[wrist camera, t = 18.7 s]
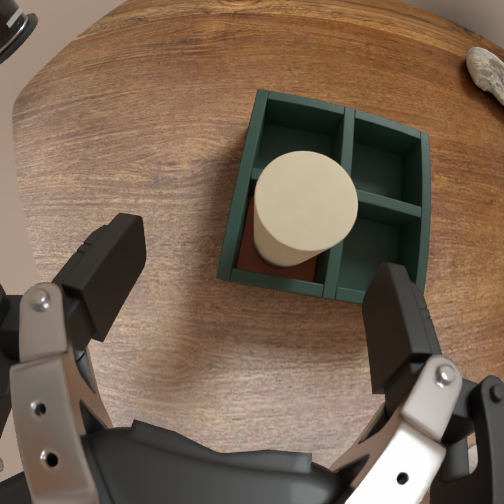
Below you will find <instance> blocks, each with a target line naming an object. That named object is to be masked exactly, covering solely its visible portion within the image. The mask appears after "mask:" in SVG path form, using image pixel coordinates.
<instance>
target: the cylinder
mask: <svg viewBox="0 0 504 504" xmlns="http://www.w3.org/2000/svg"><path fill="white" fill-rule="evenodd" d="M357 211H358V200H357V194H356V190H355V187H354V184H353V182H352V180H351V178H350V177H349V175H348V174H347V173H346V171H345V170H344V169H343V168H342V167H341V166H340V165H339V164H338V163H336V162H335V161H334V160H332V159H330V158H328V157H327V156H324V155H322V154H319V153H315V152H310V151H296V152H291V153H287V154H284V155H282V156H280V157H278V158H276V159H275V160H273V161H272V162H271V163H270V164H269V165H267V166H266V168H265V169H264V170H263V171H262V173H261V175H260V176H259V179H258V181H257V184H256V187H255V194H254V247H255V250H256V253H257V254H258V256H259V257H260V259H261V260H262V261H263V262H264V263H266V264H267V265H269V266H271V267H273V268H277V269H287V268H291V267H294V266H296V265H298V264H300V263H302V262H304V261H306V260H308V259H310V258H312V257H314V256H316V255H318V254H320V253H322V252H323V251H325V250H327V249H329V248H331V247H333V246H335V245H336V244H338V243H339V242H341V241H342V240H343V239H344V238H345V237H346V236H347V235H348V233H349V232H350V230H351V229H352V227H353V225H354V223H355V220H356V217H357Z"/></svg>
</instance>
